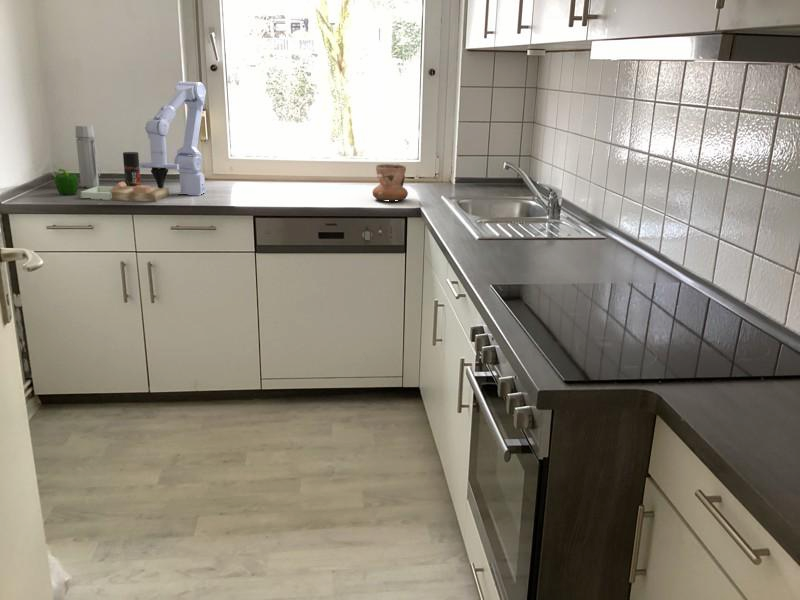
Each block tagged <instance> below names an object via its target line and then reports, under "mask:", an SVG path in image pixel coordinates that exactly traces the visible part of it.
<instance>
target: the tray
mask: <svg viewBox="0 0 800 600" xmlns="http://www.w3.org/2000/svg"><path fill="white" fill-rule="evenodd" d="M113 187H114V186H110V185H109V186H108V185H107V186H106V185H99V186H96V187H93V188H86V189H85V190H81V191H79V196H80V199H81V198H91V199H90V200H100V199H102V200H104V201H105V200H107V201H112V193H111V192H110V190H111V189H112V188H113Z"/></svg>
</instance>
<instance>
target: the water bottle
mask: <svg viewBox="0 0 800 600" xmlns="http://www.w3.org/2000/svg"><path fill="white" fill-rule="evenodd" d="M97 139H98V138H97V137H95V131H94V126H93V125H92V124H76V125H75V142H76V150H77V161H78V170H79V181H80V187H82V188H84V187H86V188H85V189H90V188H93V187H96V186H100V181H99V179H100V178H99V177H101V166H100V161H99V156H98V150H97V146H96V140H97Z"/></svg>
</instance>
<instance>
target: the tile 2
mask: <svg viewBox="0 0 800 600" xmlns="http://www.w3.org/2000/svg"><path fill="white" fill-rule="evenodd" d="M150 191H151V185H144V184H143V185H142V184H141V185H137V186H135V187H133V193H147V192H150Z"/></svg>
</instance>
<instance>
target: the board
mask: <svg viewBox="0 0 800 600" xmlns="http://www.w3.org/2000/svg"><path fill="white" fill-rule="evenodd" d="M133 187H134V186H125V187H123V188H121V189H118V190H115V191H113V192H112V199H111V201H128V200H129V201H132V202H133V201H134V202H149V201H154V202H155V203H156V201H157V202H158V200H159V201H160V199H161V200H163V199H165V198H167V197H169V196H170V192H169V187H163V188H158V187H151V191H150V192H147V193H133ZM168 195H169V196H168ZM166 196H167V197H166ZM164 197H165V198H164ZM162 198H163V199H162ZM154 202H153V203H154Z"/></svg>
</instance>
